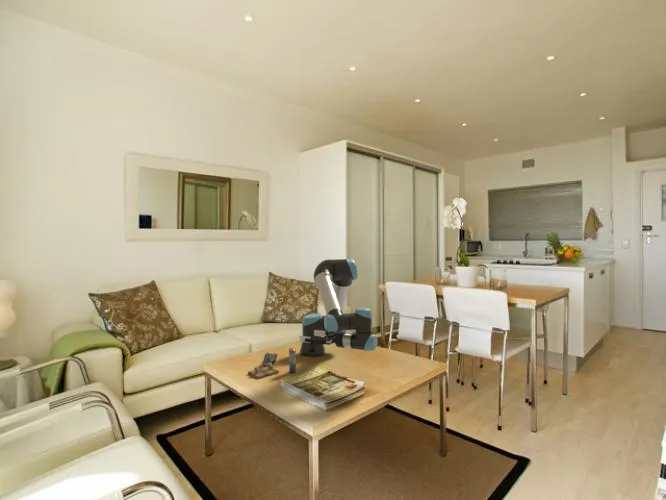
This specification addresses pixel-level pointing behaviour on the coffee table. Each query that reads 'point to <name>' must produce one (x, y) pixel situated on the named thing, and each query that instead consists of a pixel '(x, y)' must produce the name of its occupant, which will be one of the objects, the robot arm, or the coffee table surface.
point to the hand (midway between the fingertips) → (307, 335)
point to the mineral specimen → (269, 359)
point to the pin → (292, 360)
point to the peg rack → (263, 371)
